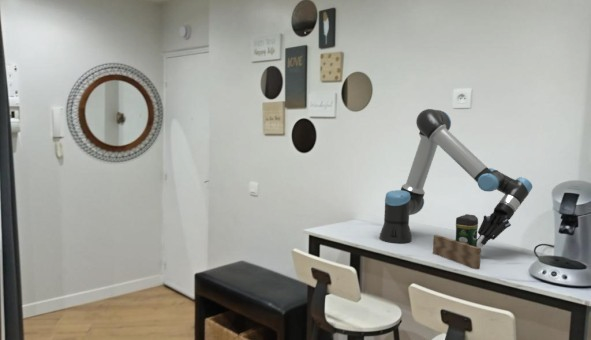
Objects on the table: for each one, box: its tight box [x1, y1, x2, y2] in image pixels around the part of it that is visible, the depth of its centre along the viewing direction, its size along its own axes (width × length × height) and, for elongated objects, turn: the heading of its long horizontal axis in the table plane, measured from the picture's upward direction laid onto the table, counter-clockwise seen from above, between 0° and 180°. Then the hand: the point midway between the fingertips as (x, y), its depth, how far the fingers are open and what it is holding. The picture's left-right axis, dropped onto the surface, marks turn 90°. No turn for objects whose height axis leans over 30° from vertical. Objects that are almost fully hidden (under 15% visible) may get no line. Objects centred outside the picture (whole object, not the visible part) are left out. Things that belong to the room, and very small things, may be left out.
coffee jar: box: [454, 213, 479, 247], centre depth 188 cm, size 10×8×19 cm
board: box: [432, 234, 482, 270], centre depth 186 cm, size 24×2×8 cm, turn 25°
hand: (475, 249), depth 191 cm, fingers closed
